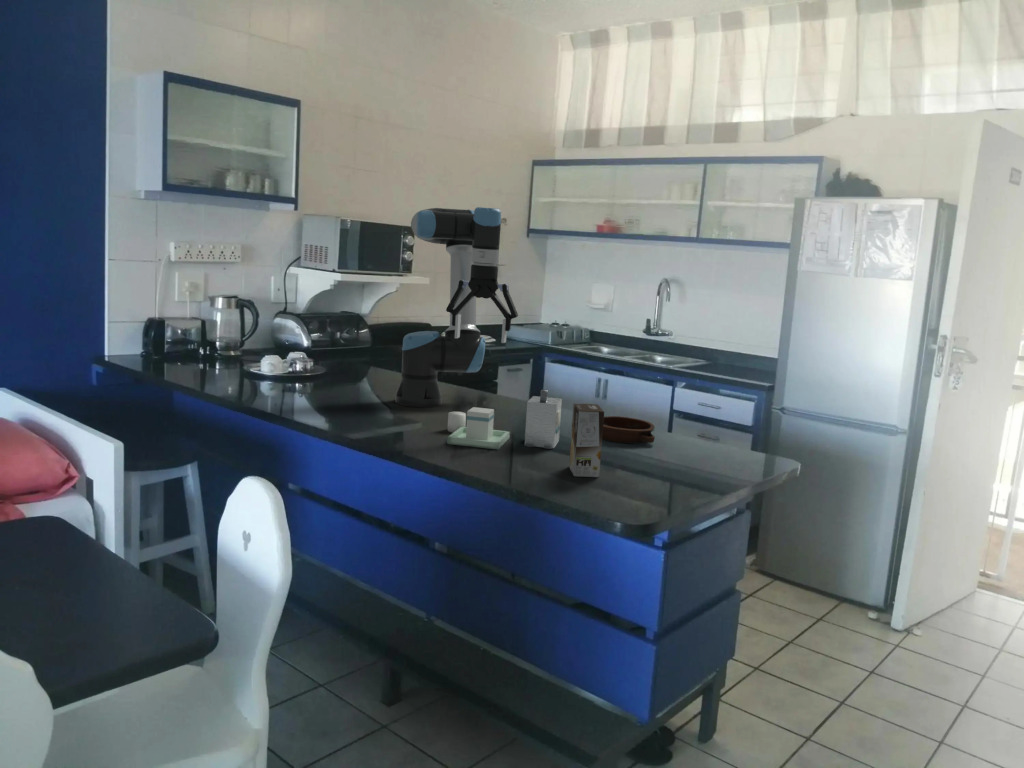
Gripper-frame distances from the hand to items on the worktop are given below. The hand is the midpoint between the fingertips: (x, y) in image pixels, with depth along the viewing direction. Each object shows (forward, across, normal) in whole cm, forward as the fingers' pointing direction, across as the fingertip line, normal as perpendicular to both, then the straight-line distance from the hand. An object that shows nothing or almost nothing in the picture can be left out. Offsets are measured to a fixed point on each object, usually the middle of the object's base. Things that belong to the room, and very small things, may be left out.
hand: (480, 340), depth 234 cm
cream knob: (+26, -4, -4) cm, 27 cm away
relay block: (+25, +5, -13) cm, 29 cm away
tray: (+25, +5, -13) cm, 29 cm away
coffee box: (+25, +36, -32) cm, 54 cm away
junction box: (+25, +21, -8) cm, 34 cm away
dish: (+26, +42, +8) cm, 50 cm away
